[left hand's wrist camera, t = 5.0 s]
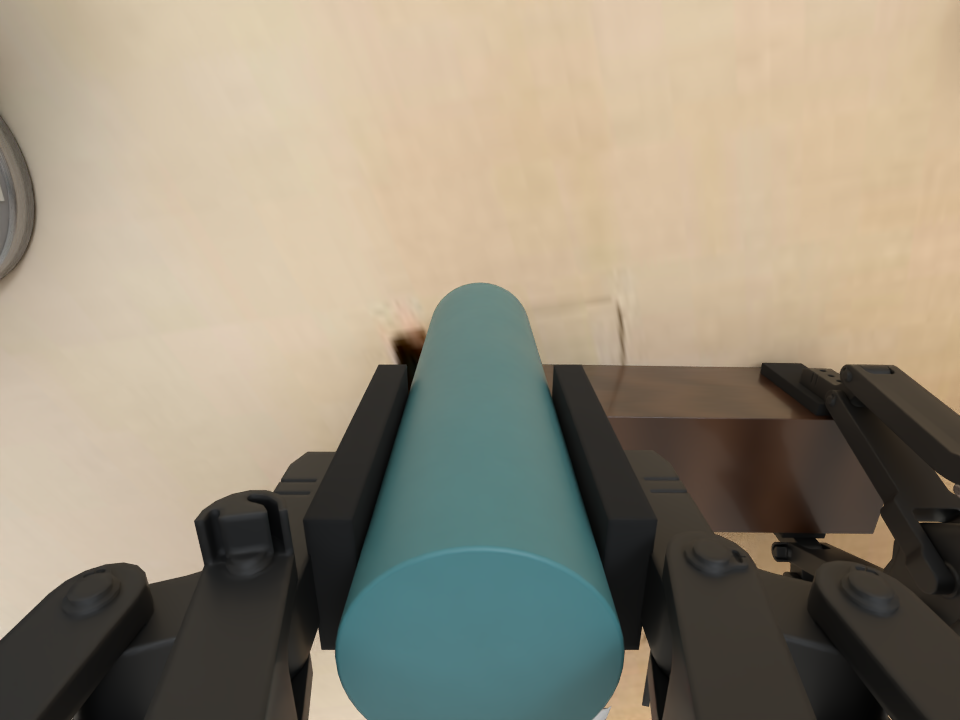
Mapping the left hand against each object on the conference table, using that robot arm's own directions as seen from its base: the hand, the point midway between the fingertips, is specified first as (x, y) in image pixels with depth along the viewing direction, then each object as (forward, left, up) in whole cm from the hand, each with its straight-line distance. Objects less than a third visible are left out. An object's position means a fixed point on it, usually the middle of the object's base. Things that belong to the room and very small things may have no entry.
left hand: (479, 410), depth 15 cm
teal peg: (0, 0, -7) cm, 7 cm away
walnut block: (+15, -5, -22) cm, 27 cm away
